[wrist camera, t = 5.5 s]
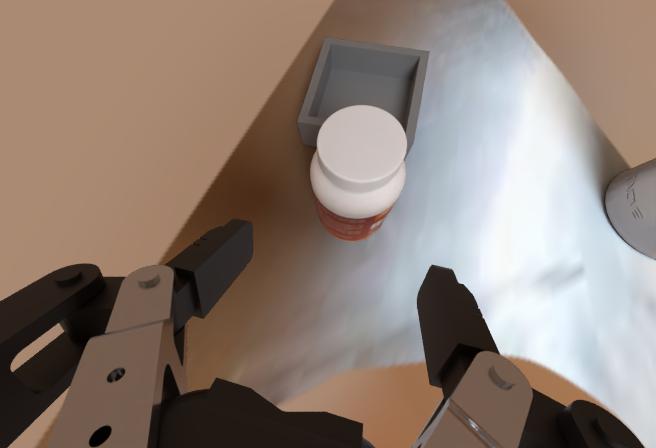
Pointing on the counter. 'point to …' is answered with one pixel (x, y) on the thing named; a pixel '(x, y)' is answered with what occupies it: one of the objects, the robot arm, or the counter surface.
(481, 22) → the counter surface
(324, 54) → the charcoal bin
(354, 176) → the pill bottle
